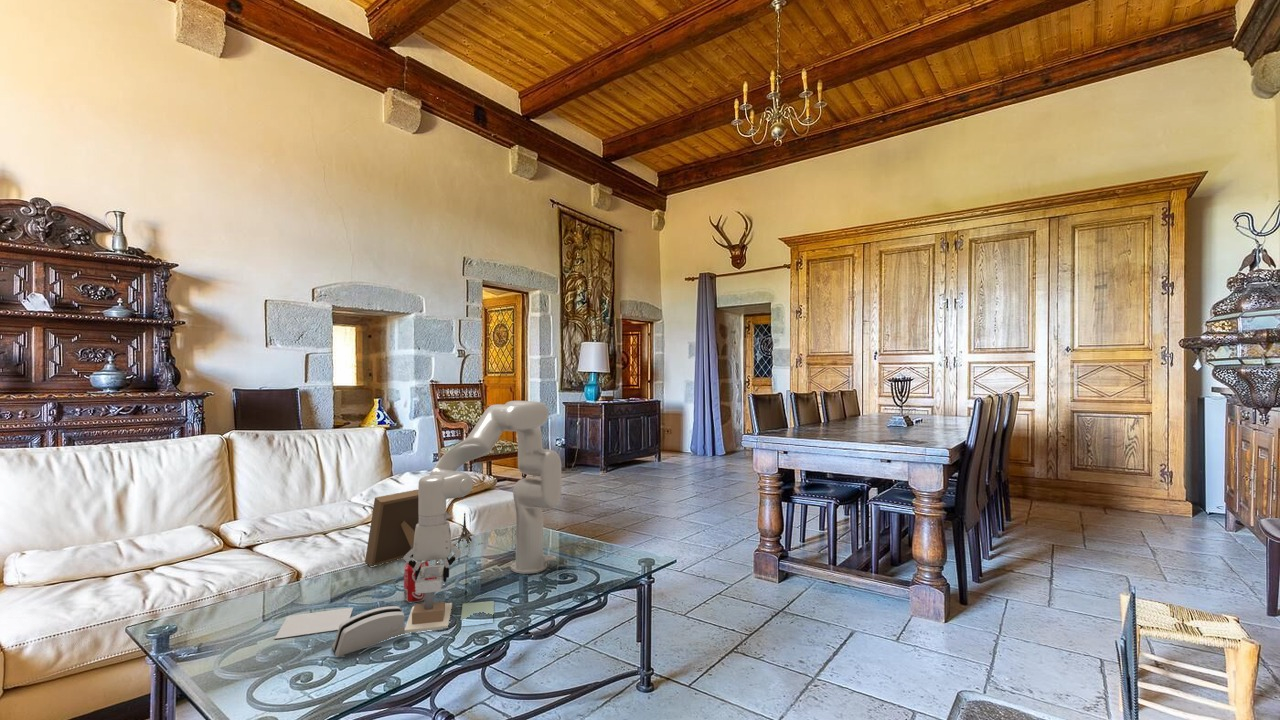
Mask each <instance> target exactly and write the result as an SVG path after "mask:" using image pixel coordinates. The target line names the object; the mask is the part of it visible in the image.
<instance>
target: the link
mask: <svg viewBox="0 0 1280 720" xmlns="http://www.w3.org/2000/svg"><path fill="white" fill-rule="evenodd" d="M432 577H437V579H430V580H425V578H432ZM443 580H444V564H440V565H435V564H434V565H429V566H423V567H421V569H420V572H419V575H418V577H417V580H416V594H419V593H429V592H434V593H437V592H441V591H442V587H443V583H444V582H443Z"/></svg>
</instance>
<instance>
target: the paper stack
mask: <svg viewBox="0 0 1280 720" xmlns="http://www.w3.org/2000/svg"><path fill="white" fill-rule="evenodd" d="M353 609H354V607H353V606H352V607H347V608H337V609H332V610H321V611H316V612H310V613H309V612H308V613H302V614H301V613H299V614H292V615H287V616H286V617H285V620H284V621H283V623H282V625H281V626H280V628H279V629H278V632H277V634H276V635H275V637H274V640H276V639H283V638H289V637H297V636H304V635H310V634H318V633H325V632H326V633H327V632H332V631H338V629H339V626H340V624H341V623H342V622H344V621H346V620H348V619H350V618H351V617H352V616H351V615H352V613H353Z"/></svg>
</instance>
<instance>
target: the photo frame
mask: <svg viewBox="0 0 1280 720" xmlns="http://www.w3.org/2000/svg"><path fill="white" fill-rule="evenodd" d="M418 514H419V513H418V489H414V490H407V491H402V492H397V493H392V494H387V495H382V496H377V497H374V501H373V508H372V515H371V523H370V528H369V533H368V540H367V548H366V554H365V564H366V565H368V564H370V565H368V566H369V567H370V566H374V565H379V564H382V563H386V562H389V563H392V562H395V560H396V561H398V560H397V559H399V560H402V559H401V558H403V557H404V555H405V554H406V553H407V552H408V551H409V550H410V549H411V548H412V547H413V545H414V534H415V528H416V524H418ZM412 555H413V554H412ZM412 555H411V556H410V557H412ZM391 561H392V562H391ZM430 561H431V560H427V562H430ZM386 564H387V563H386ZM382 565H383V564H382ZM379 566H380V565H379Z"/></svg>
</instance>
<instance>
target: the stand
mask: <svg viewBox="0 0 1280 720" xmlns="http://www.w3.org/2000/svg"><path fill="white" fill-rule="evenodd" d="M434 594H435V592H429V593H424V600H423V601H424V602H423V603H414V605H413V606H412V607H411V610H410V613H409V616H408V618H407V621H406V624H405V626H404V634H405V633H410V632H418V631H427V630H436V629H443V628H448V629H449V627H448V625H449V626H450V621H449V620H451V616H450V615H452V610H453V602H447V603H446V601H435V602H434V598H435V597H434ZM451 609H452V610H451Z"/></svg>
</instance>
